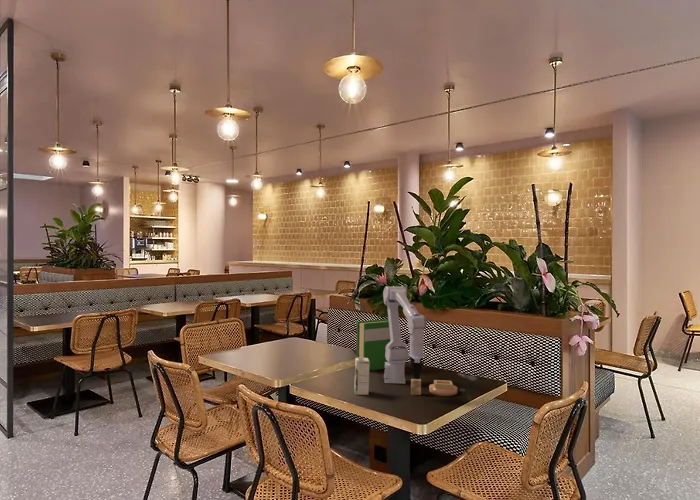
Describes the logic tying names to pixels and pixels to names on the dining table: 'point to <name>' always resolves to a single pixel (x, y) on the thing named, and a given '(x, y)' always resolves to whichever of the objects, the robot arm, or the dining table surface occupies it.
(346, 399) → the dining table surface
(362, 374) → the syrup box
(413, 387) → the tall wooden block
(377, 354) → the hardback book
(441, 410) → the dining table surface
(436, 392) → the tan rounded piece
